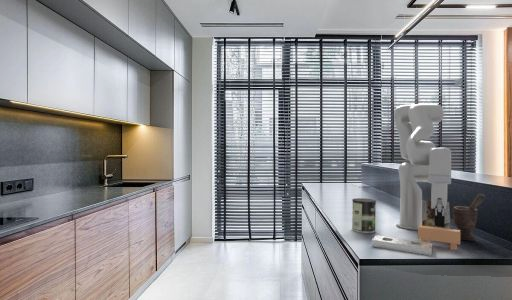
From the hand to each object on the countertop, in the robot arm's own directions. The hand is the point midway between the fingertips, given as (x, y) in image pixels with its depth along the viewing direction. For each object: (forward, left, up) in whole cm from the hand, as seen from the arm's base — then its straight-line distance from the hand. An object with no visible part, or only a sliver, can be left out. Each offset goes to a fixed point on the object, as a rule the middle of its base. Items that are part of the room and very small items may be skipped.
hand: (439, 224), depth 123 cm
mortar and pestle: (-20, +11, -9) cm, 24 cm away
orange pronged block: (-1, 0, -9) cm, 9 cm away
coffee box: (-14, -1, -9) cm, 16 cm away
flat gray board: (+9, -12, -9) cm, 18 cm away
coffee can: (-11, -30, -9) cm, 33 cm away
